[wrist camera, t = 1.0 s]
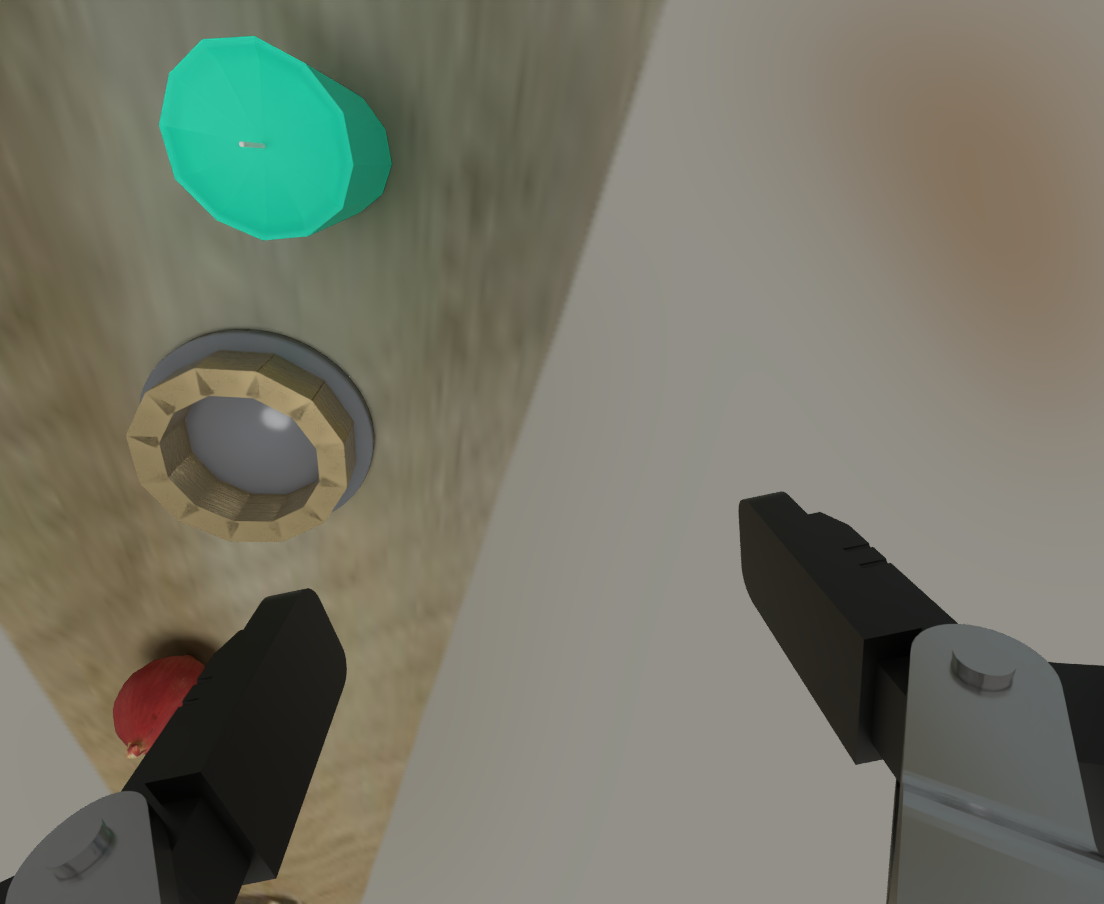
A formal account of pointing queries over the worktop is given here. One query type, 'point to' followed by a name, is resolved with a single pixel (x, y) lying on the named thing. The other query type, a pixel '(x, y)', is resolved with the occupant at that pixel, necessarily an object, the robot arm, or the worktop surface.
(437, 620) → the worktop surface
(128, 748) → the onion
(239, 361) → the collar
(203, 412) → the dish
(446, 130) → the worktop surface
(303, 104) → the candle
